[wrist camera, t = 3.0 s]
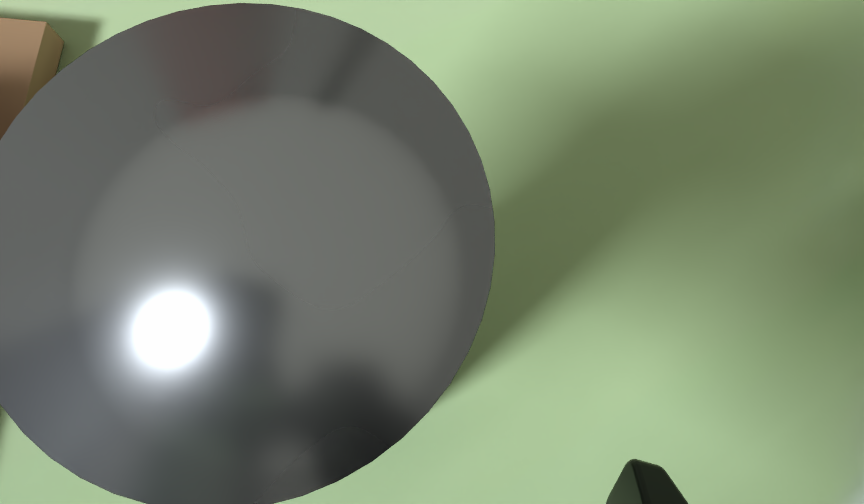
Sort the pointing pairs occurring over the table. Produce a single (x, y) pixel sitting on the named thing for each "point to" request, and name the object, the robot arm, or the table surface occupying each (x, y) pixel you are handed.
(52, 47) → the socket board
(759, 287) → the table surface
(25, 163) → the metal pin
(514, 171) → the table surface
